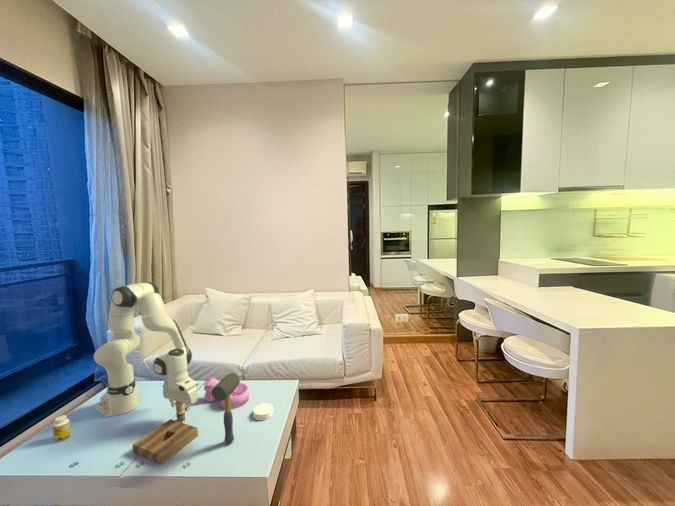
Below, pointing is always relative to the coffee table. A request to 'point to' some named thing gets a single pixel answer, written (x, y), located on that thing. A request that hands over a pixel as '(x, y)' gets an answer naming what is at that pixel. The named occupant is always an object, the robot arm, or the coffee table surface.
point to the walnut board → (163, 450)
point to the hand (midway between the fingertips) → (180, 408)
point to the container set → (236, 397)
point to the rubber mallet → (226, 402)
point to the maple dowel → (180, 411)
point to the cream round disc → (263, 411)
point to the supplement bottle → (61, 428)
